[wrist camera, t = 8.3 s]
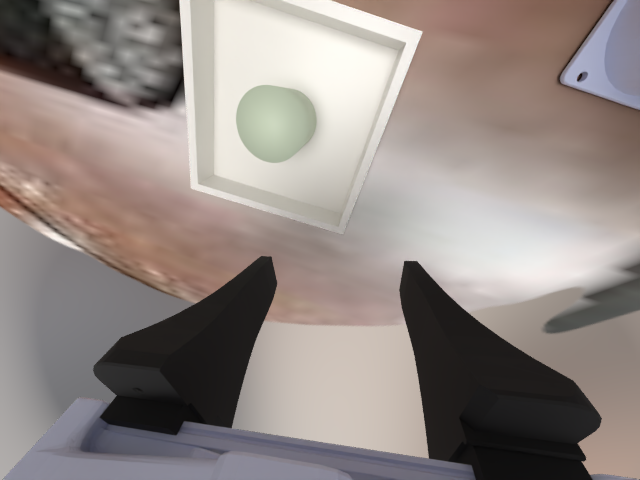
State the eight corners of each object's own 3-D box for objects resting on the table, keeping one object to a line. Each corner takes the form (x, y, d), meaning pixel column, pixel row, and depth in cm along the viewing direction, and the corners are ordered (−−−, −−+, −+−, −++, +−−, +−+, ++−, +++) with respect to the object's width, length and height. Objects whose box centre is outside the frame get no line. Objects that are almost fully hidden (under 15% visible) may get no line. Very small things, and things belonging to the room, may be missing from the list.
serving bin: (411, 42, 14) (422, 31, 12) (344, 218, 22) (342, 235, 19) (208, -26, 14) (176, -52, 11) (210, 177, 21) (190, 188, 19)
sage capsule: (323, 100, 16) (312, 101, 12) (308, 155, 18) (294, 172, 14) (270, 79, 16) (240, 72, 12) (261, 137, 18) (232, 149, 14)
